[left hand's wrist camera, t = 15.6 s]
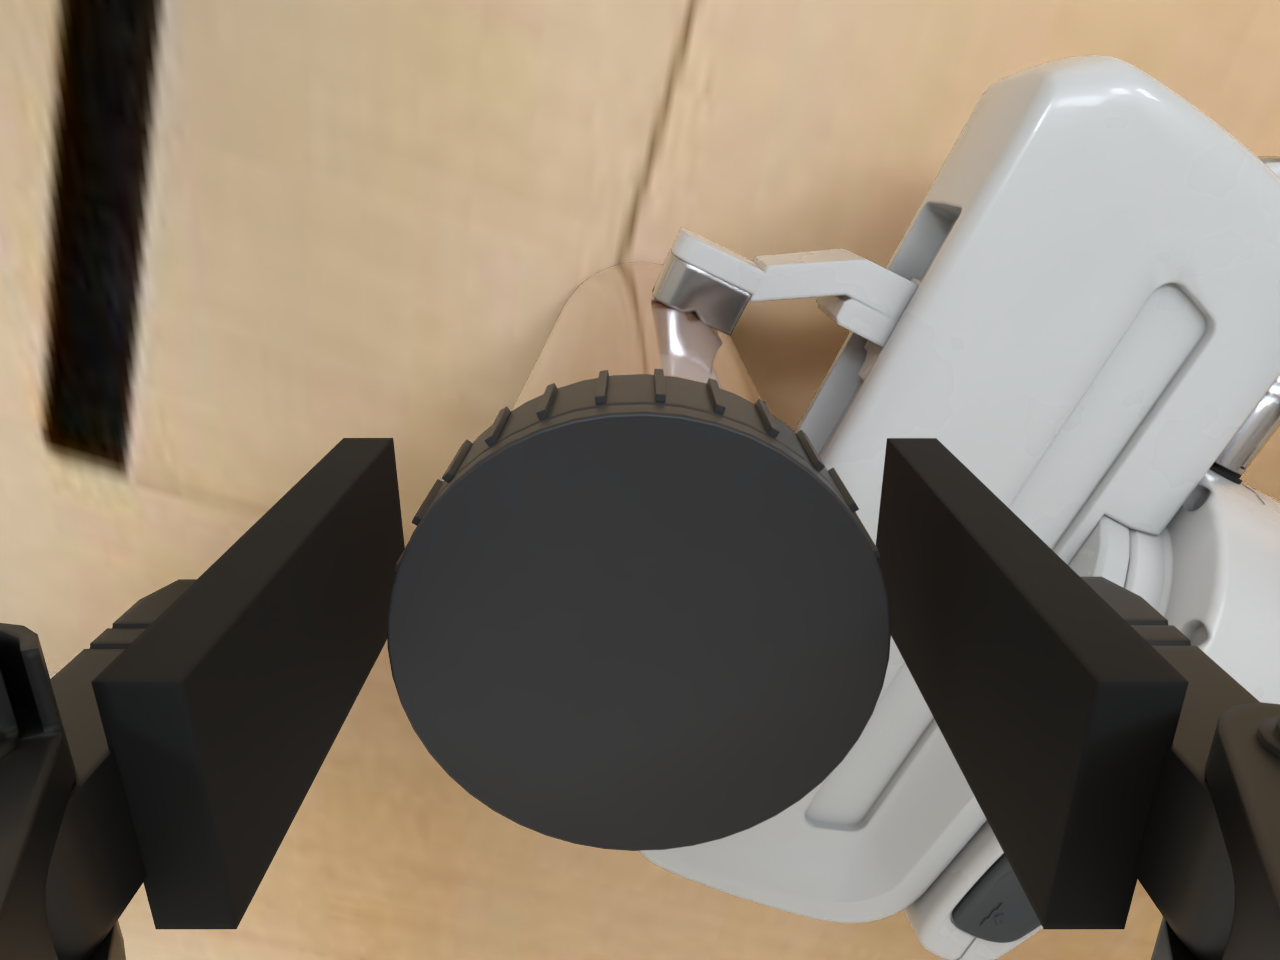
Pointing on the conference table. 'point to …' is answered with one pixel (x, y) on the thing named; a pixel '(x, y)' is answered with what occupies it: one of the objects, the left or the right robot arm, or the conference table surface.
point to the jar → (633, 338)
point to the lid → (639, 615)
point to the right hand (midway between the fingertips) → (601, 397)
